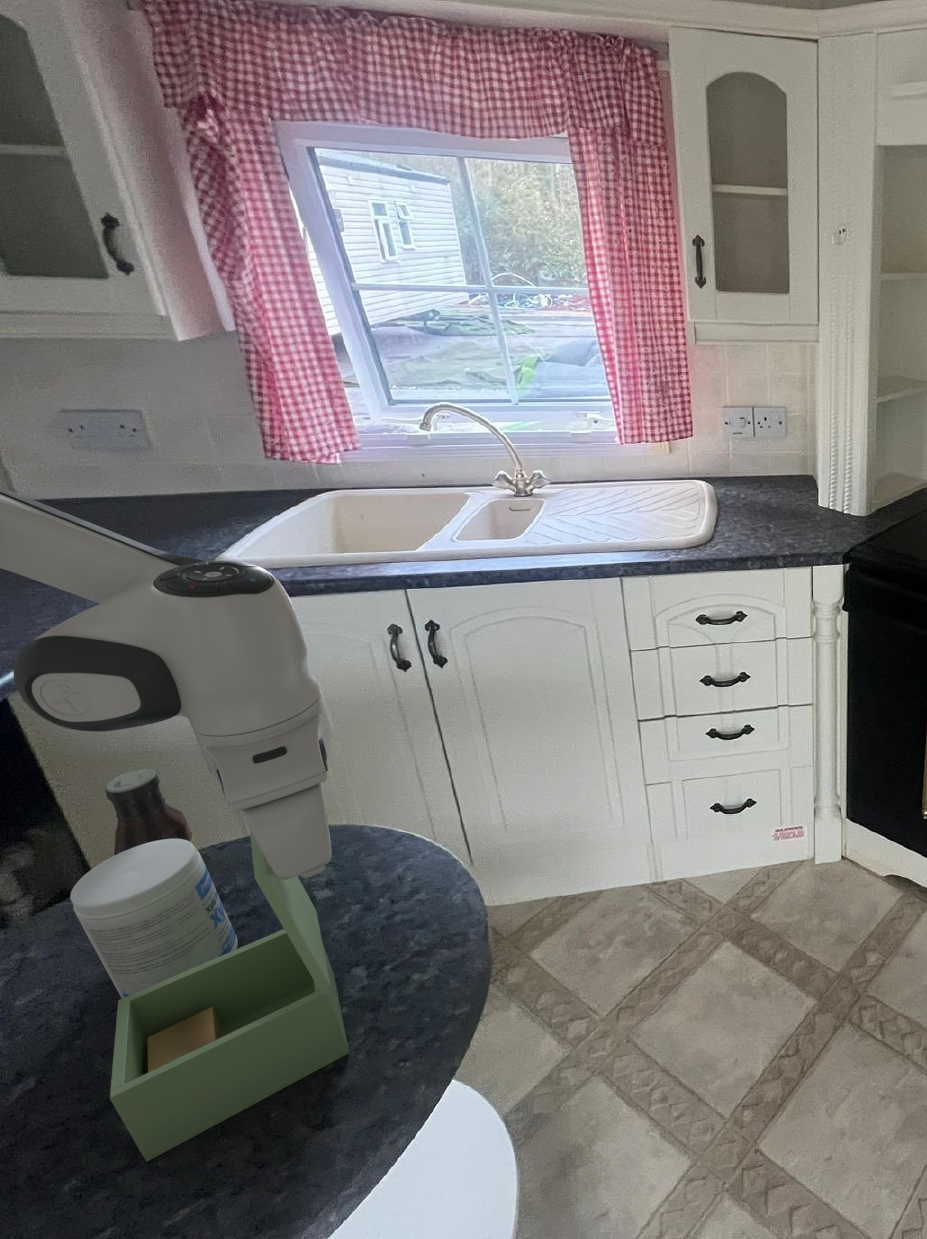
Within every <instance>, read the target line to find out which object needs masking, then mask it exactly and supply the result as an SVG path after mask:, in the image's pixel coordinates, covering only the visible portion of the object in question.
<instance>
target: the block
mask: <svg viewBox="0 0 927 1239" xmlns="http://www.w3.org/2000/svg"><path fill="white" fill-rule="evenodd" d="M223 1036H225V1033H224V1030H223V1028H222V1026H221V1024H220V1022H219V1020H218V1017H217V1015H216V1013H215V1011H214V1009H213V1007H211V1008H208V1009H206V1010H204V1011H202V1012H200V1013H198V1014H196V1015H194V1016H192V1017H190V1018H188V1019H185V1020H183V1021H181V1022H179V1023H177V1024H175V1025H173V1026H171V1027H169V1028H167V1029H164V1030H162V1031H160V1032H158V1033H156V1034H154V1035H152V1036H150V1037H148V1038H147V1043H148V1073H149V1072H151V1071H153V1070H155V1069H157V1068H159V1067H161V1066H163V1065H165V1064H167V1063H169V1062H172V1061H174V1060H176V1059H178V1058H180V1057H182V1056H184V1055H186V1054H188V1053H190V1052H192V1051H194V1050H196V1049H198V1048H201V1047H203V1046H205V1045H207V1044H209V1043H211V1042H213V1041H215V1040H217V1039H219V1038H221V1037H223Z"/></svg>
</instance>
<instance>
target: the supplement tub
mask: <svg viewBox="0 0 927 1239" xmlns="http://www.w3.org/2000/svg"><path fill="white" fill-rule="evenodd" d="M198 851H199V850H198ZM198 851H197V850H196V848H195V846H194V845H193V844H192V843H191V842H190V841H187V840H183V839H164V840H158V841H153V842H149V843H146V844H142V845H139V846H136V847H133V848H131V849H128V850H126V851H123V852H121V853H119V854H117V855H115V856H114V855H113V856H110V857H109V858H107V859H106V860H104V861H102V862H101V863H99V864H97V865H96V866H94V867H93V868H92V869H90V870H89V871H87V872H86V873H85V874H84V875H83V876H81V878H80V879H79V880H78V881H77V882H76V884H74V886H73V888H72V889H71V891H70V897H69V899H70V901H71V903H72V906H73V911H74V913H75V916H76V917H77V920H78V921H79V924H80V925H81V926H82V930H83V931H84V932H85V934H86V936H87V938H88V939H89V941H90V943H91V945H92V947H93V948H94V950H95V953H96V954H97V956H98V958H99V960H100V961H101V963H102V965H103V967H104V969H105V971H106V972H107V974H108V976H109V978H110V979H111V982H112V983H113V985H114V987H115V989H116V990H117V993H118V995H119V996H120V999H122V998H125V997H127V996H129V995H132V994H134V993H136V992H139V991H141V990H143V989H146V988H148V987H150V986H153V985H155V984H157V983H160V982H162V981H164V980H167V979H169V978H171V977H173V976H176V975H178V974H180V973H183V972H185V971H187V970H190V969H192V968H194V967H197V966H199V965H201V964H204V963H206V962H208V961H211V960H213V959H215V958H218V957H220V956H222V955H225V954H227V953H229V952H232V951H234V950H236V949H238V942H239V941H238V937H237V935H236V932H235V930H234V928H233V925H232V923H231V921H230V919H229V916H228V913H227V911H226V909H225V907H224V905H223V902H222V900H221V898H220V895H219V893H218V891H217V888H216V886H215V884H214V881H213V879H212V877H211V875H210V872H209V870H208V868H207V865H206V864H205V862H204V859H203V858H202V855H201V854H200V852H198Z"/></svg>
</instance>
